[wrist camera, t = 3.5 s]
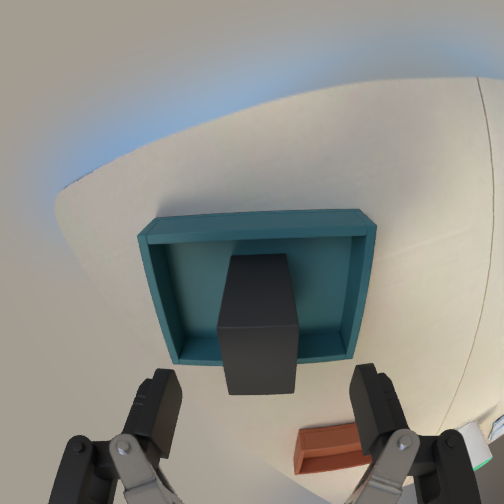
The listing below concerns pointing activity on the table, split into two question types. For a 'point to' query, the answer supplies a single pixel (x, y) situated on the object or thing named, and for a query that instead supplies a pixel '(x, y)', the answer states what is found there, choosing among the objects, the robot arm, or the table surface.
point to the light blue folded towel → (497, 429)
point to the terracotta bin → (328, 449)
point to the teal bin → (252, 243)
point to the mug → (475, 444)
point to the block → (258, 326)
